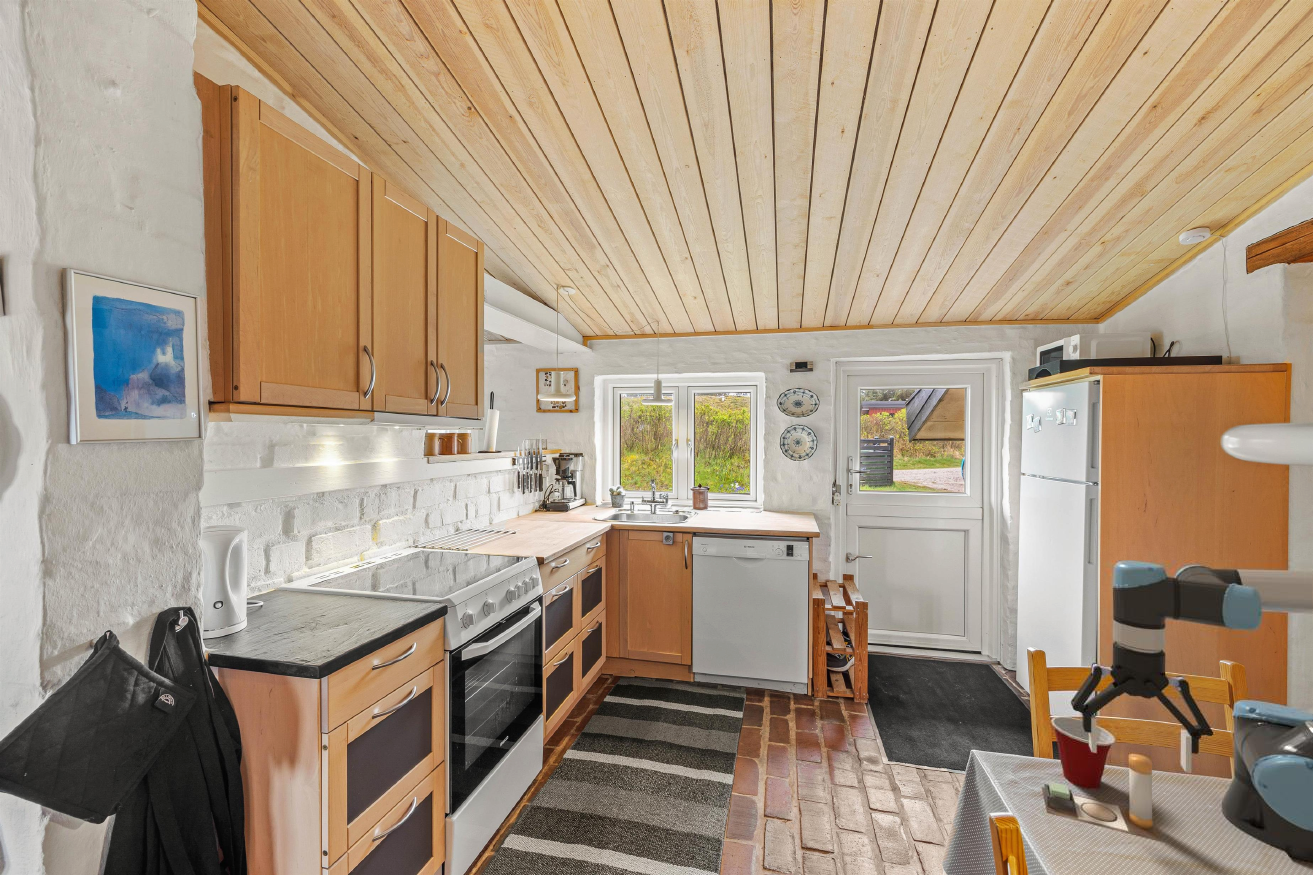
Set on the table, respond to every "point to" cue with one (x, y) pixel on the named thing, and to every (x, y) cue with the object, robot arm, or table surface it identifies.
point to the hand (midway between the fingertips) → (1137, 758)
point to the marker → (1140, 791)
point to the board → (1096, 813)
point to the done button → (1059, 790)
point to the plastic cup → (1081, 752)
